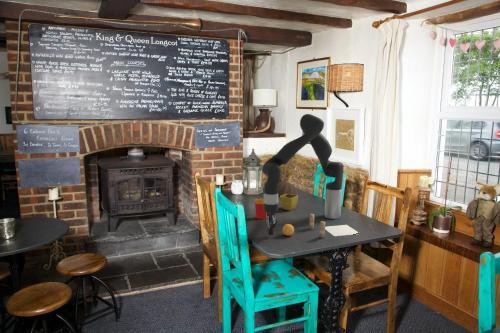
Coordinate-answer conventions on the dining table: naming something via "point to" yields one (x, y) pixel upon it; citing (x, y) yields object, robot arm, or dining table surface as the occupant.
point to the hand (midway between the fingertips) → (270, 234)
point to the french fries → (260, 208)
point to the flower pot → (288, 201)
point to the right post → (322, 229)
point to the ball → (288, 229)
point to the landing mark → (340, 230)
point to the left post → (311, 221)
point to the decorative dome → (286, 189)
